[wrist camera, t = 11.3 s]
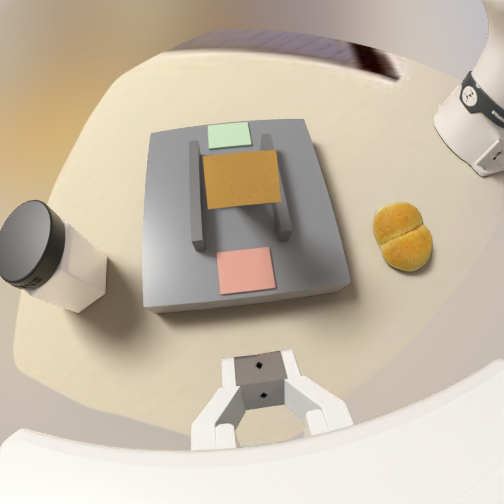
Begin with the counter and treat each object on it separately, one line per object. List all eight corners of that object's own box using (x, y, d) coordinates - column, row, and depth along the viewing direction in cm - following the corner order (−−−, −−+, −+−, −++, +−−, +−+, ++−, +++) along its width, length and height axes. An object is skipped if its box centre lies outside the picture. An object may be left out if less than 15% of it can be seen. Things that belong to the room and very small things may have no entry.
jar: (45, 289, 29) (-17, 258, 18) (73, 235, 32) (21, 188, 20) (91, 324, 28) (24, 303, 17) (121, 263, 30) (69, 217, 19)
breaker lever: (257, 170, 29) (280, 149, 16) (260, 199, 30) (285, 201, 17) (209, 174, 29) (197, 157, 16) (213, 204, 29) (202, 209, 17)
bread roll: (390, 282, 31) (406, 272, 27) (361, 217, 34) (373, 201, 30) (434, 261, 32) (451, 251, 28) (407, 204, 35) (420, 189, 31)
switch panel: (299, 138, 38) (306, 105, 32) (338, 291, 30) (360, 275, 24) (157, 152, 36) (146, 120, 30) (155, 313, 29) (133, 302, 23)
